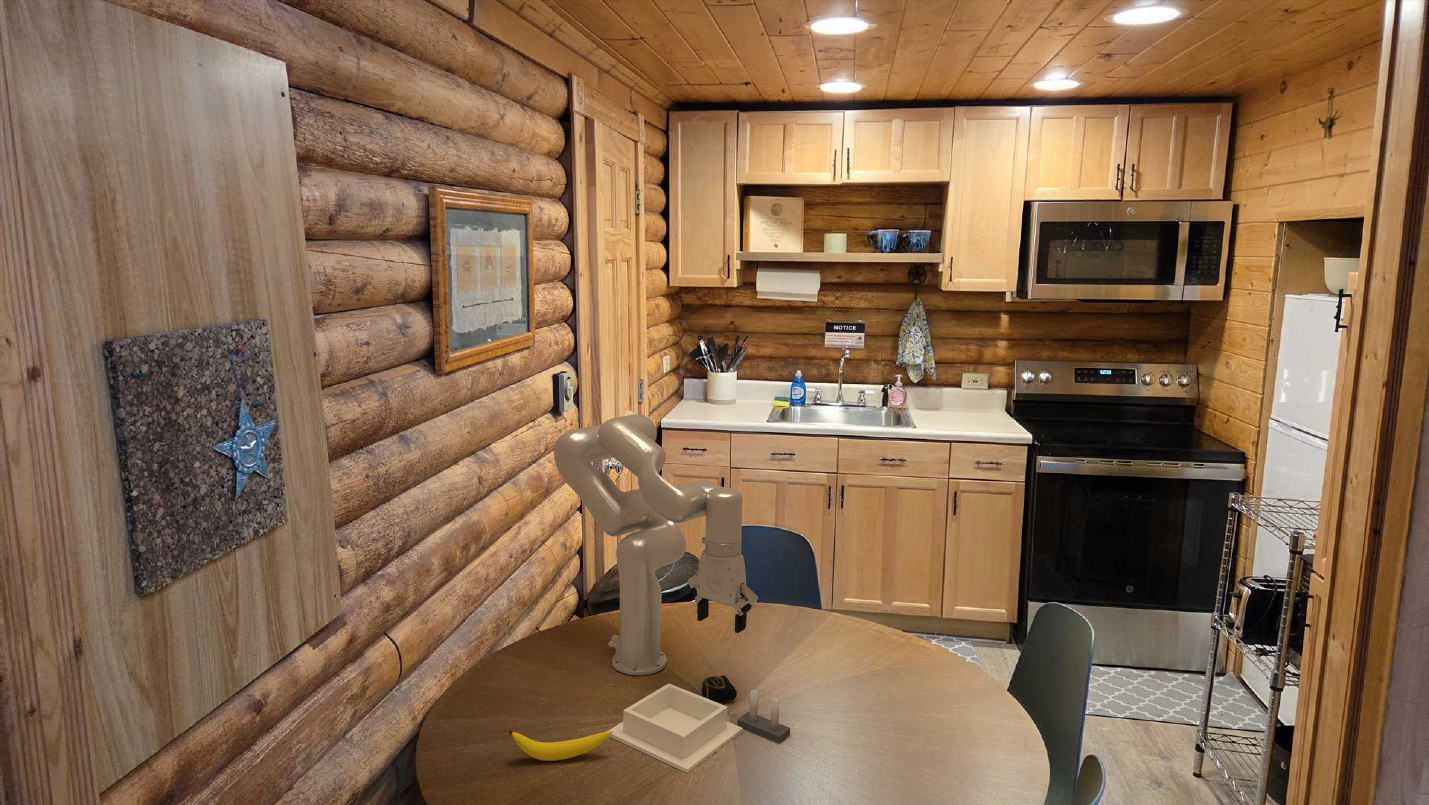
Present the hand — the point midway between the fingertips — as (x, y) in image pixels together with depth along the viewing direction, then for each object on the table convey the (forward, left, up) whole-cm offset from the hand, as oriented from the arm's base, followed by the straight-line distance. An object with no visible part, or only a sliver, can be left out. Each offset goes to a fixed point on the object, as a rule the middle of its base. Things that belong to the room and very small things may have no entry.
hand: (721, 625), depth 178 cm
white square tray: (+2, -17, -17) cm, 24 cm away
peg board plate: (+15, -5, -17) cm, 23 cm away
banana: (-9, -37, -17) cm, 42 cm away
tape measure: (0, +1, -17) cm, 17 cm away
